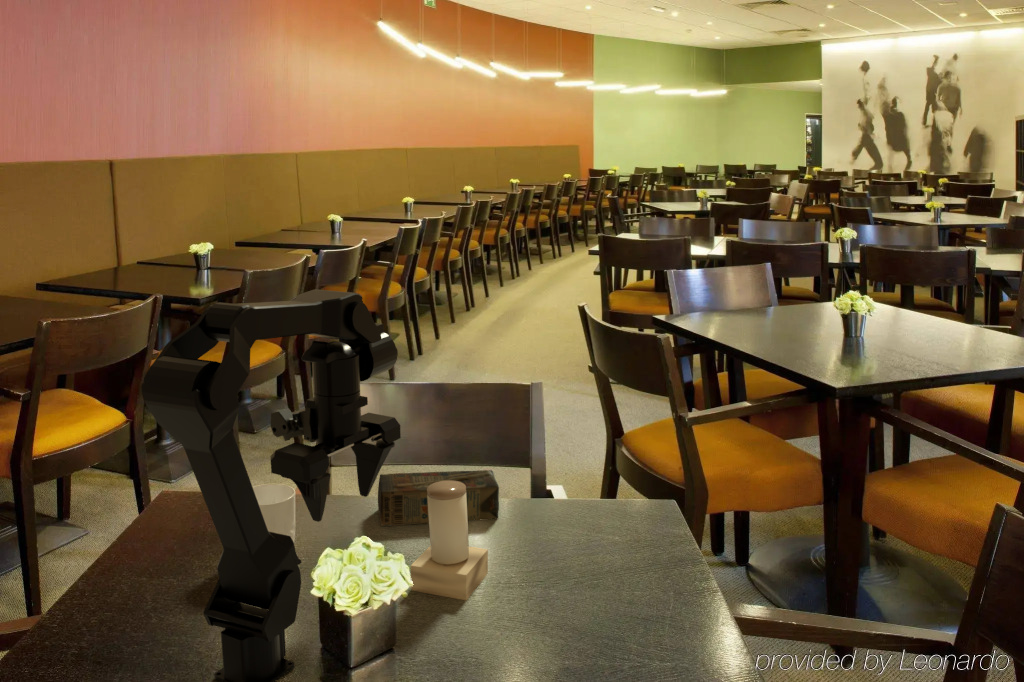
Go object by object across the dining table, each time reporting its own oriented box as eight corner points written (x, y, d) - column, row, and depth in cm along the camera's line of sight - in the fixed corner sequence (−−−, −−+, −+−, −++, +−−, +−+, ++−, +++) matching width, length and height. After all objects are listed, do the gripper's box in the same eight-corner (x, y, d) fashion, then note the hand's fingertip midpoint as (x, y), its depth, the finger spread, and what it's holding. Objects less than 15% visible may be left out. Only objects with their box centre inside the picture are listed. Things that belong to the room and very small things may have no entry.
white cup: (283, 574, 125) (280, 507, 123) (231, 568, 127) (227, 502, 125) (307, 549, 133) (304, 485, 131) (257, 544, 134) (254, 481, 132)
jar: (443, 570, 119) (439, 499, 117) (424, 555, 123) (419, 486, 121) (476, 558, 122) (473, 489, 119) (456, 544, 126) (453, 477, 124)
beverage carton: (500, 521, 144) (500, 482, 142) (379, 529, 140) (378, 489, 139) (492, 501, 151) (492, 464, 150) (377, 509, 148) (376, 471, 147)
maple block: (466, 602, 119) (466, 575, 118) (411, 592, 121) (410, 565, 120) (487, 575, 126) (487, 549, 125) (435, 566, 129) (434, 540, 128)
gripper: (336, 366, 124) (340, 473, 127) (233, 399, 108) (241, 520, 111) (401, 377, 118) (404, 488, 122) (304, 413, 102) (309, 540, 106)
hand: (341, 507), depth 115 cm, fingers open, 9 cm apart
